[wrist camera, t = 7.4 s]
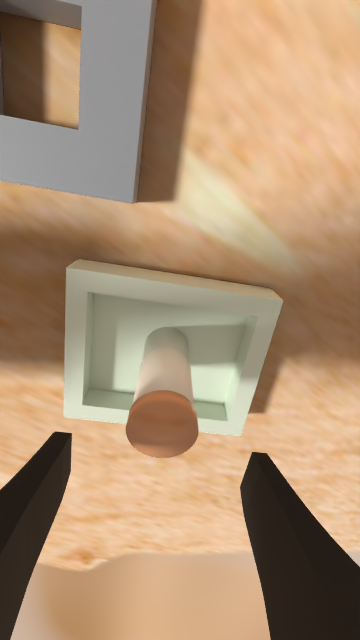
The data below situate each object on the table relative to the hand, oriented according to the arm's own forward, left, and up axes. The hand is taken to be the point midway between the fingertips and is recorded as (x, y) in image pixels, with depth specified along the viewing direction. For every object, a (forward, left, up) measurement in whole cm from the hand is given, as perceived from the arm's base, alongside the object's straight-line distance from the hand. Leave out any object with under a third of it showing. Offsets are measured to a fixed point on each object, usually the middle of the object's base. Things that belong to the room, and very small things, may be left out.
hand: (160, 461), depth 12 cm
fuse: (0, 0, -9) cm, 9 cm away
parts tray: (0, 0, -10) cm, 10 cm away
